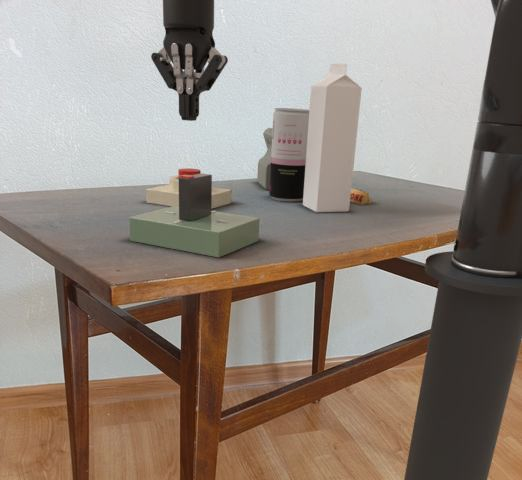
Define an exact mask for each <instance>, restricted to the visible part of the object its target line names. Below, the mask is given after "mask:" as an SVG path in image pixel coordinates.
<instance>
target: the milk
mask: <svg viewBox="0 0 522 480" xmlns="http://www.w3.org/2000/svg"><path fill="white" fill-rule="evenodd" d="M362 89H363V88H362V87H361V86H360V85H359V84H358V83H357V82H356V81H354V80H353V79H352V78H351V77H350V76H348V75H347V63H329V68H328V74H327V75H326V76H324V77H322V78H321V79H319V80H317V81H316V82H314V83H313V84H311V86H310V97H309V109H308V110H309V124H308V138H307V152H306V166H305V180H304V194H303V200H302V206H303V207H306V208H307V209H309V210H311V211H313V212H314V213H342V212H343V213H345V212H349V211H350V205H351V202H350V196H351V189H352V186H353V185H352V184H353V175H354V166H355V157H356V149H357V148H356V147H357V138H358V137H357V136H358V129H359V128H358V127H359V117H360V110H361V108H360V107H361V99H362V98H361V97H362Z"/></svg>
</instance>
